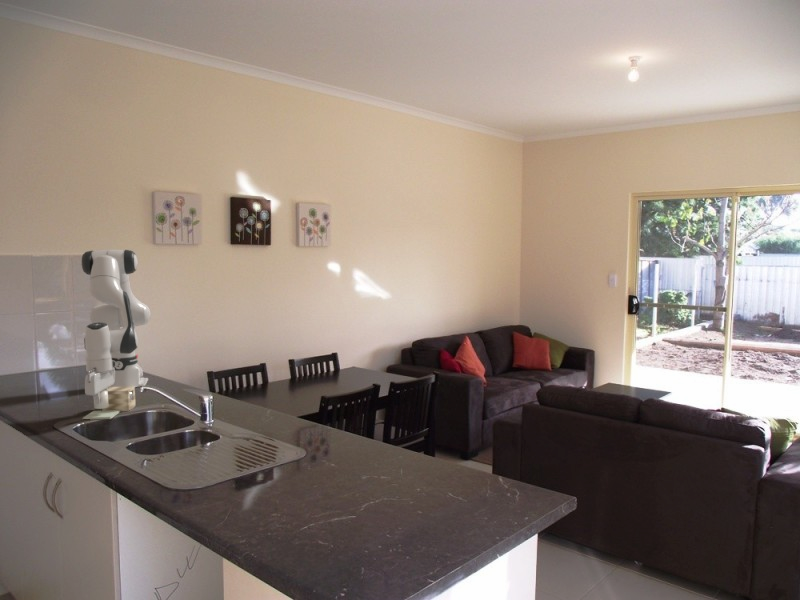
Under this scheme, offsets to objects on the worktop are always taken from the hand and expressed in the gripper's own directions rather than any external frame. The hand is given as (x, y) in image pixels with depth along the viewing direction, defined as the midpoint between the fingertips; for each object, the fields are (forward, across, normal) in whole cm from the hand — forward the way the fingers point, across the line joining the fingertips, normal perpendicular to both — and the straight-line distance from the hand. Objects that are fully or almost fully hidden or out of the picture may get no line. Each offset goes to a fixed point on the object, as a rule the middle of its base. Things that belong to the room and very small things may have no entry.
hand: (101, 401), depth 238 cm
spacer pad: (+6, 0, 0) cm, 6 cm away
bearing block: (+6, +10, -3) cm, 12 cm away
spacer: (+2, 0, 0) cm, 2 cm away
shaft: (+4, +10, -2) cm, 11 cm away
